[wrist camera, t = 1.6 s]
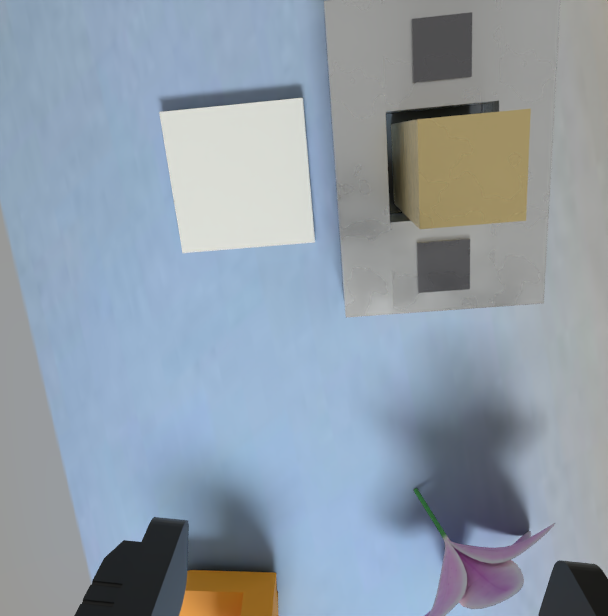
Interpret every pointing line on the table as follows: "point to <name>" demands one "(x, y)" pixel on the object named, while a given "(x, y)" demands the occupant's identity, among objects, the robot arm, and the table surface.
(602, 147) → the table surface
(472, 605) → the lily
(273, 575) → the bracket
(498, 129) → the brass peg
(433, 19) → the socket block
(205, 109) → the pad
